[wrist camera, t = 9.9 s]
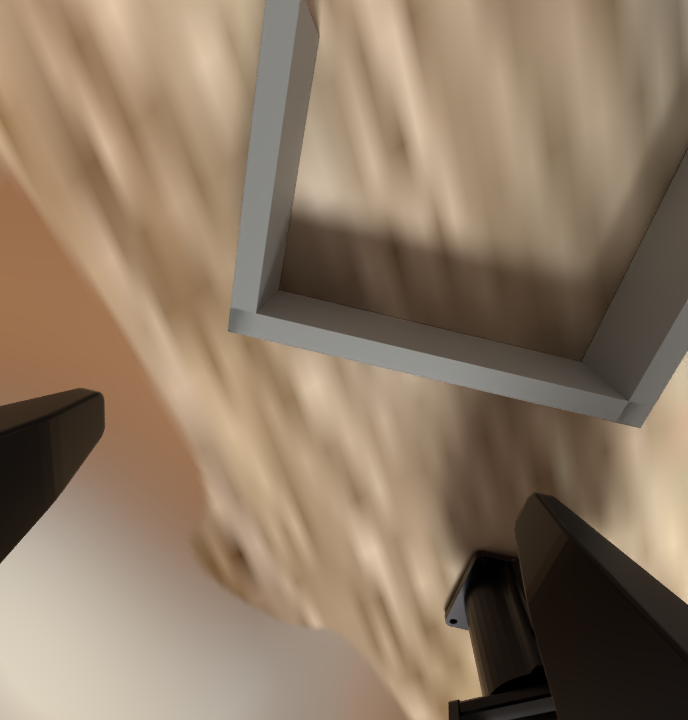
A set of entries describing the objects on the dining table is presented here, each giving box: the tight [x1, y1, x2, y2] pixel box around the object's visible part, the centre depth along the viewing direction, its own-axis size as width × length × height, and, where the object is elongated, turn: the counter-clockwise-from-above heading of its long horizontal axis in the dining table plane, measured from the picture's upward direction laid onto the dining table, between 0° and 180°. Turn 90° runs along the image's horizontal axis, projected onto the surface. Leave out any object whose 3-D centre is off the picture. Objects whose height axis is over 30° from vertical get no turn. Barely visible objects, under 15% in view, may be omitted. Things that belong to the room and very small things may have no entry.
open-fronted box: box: [228, 0, 688, 428], centre depth 16 cm, size 11×17×4 cm, turn 77°
